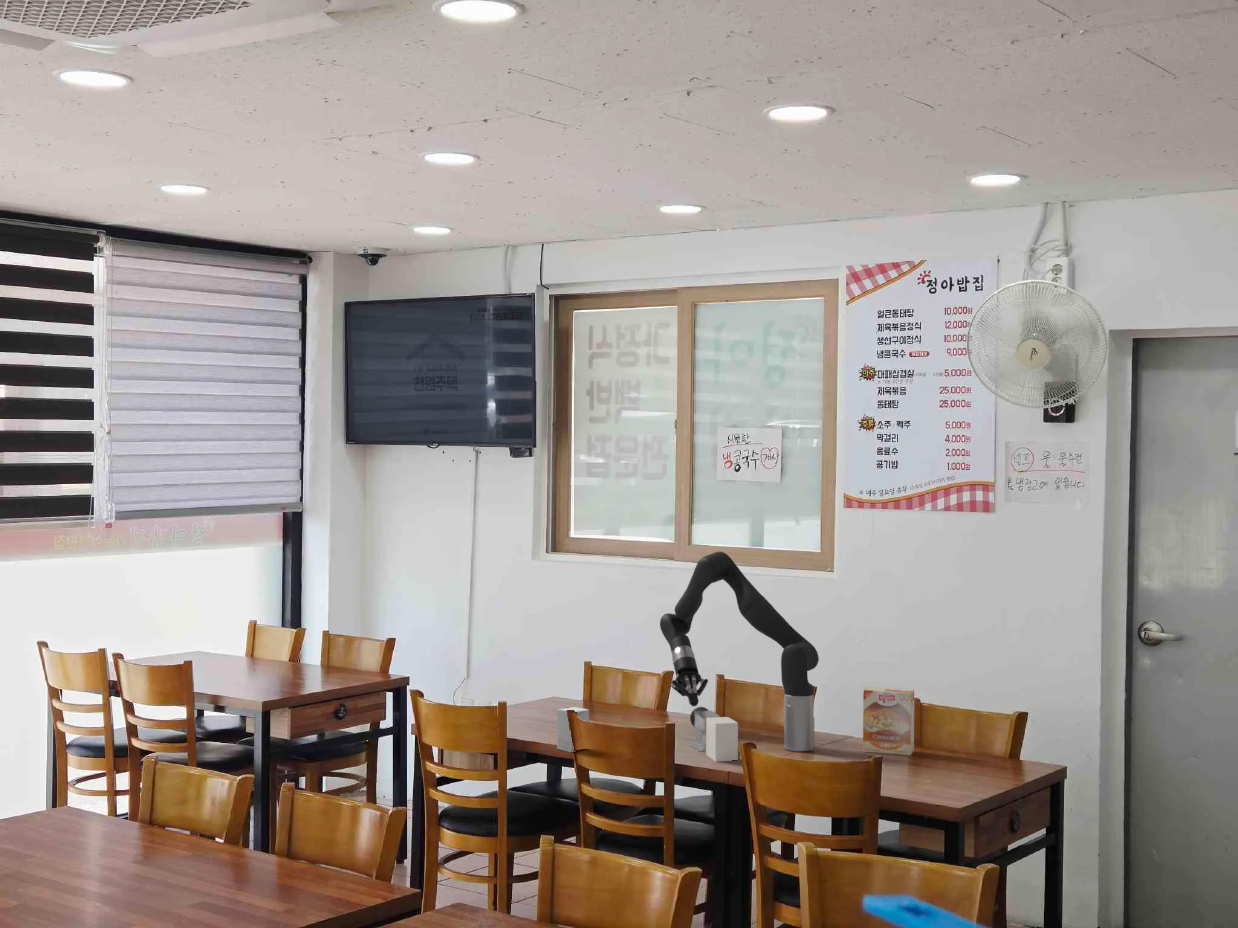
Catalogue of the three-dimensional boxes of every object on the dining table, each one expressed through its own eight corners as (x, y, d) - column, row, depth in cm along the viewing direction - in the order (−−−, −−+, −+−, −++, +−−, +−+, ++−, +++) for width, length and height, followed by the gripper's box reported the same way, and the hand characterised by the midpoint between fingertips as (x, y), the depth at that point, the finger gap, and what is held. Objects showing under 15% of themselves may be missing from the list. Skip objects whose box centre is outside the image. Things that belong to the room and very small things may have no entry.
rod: (689, 728, 441) (690, 707, 441) (710, 728, 443) (711, 706, 443) (710, 742, 419) (710, 719, 419) (732, 741, 420) (732, 719, 420)
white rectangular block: (706, 754, 423) (706, 717, 423) (727, 753, 425) (728, 716, 425) (715, 761, 413) (715, 723, 413) (737, 760, 415) (737, 722, 415)
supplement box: (571, 752, 425) (571, 711, 425) (556, 748, 431) (556, 708, 431) (589, 749, 430) (589, 709, 430) (574, 745, 435) (574, 706, 435)
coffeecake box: (862, 751, 429) (862, 689, 429) (866, 747, 435) (866, 686, 435) (911, 755, 423) (911, 692, 423) (914, 751, 430) (914, 688, 430)
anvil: (688, 743, 439) (688, 710, 439) (715, 742, 441) (715, 709, 441) (698, 751, 428) (698, 717, 428) (726, 750, 430) (726, 716, 430)
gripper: (667, 656, 457) (677, 698, 445) (705, 654, 460) (716, 696, 448) (663, 670, 463) (673, 712, 450) (701, 668, 465) (711, 710, 453)
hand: (694, 704), depth 449 cm, fingers closed
